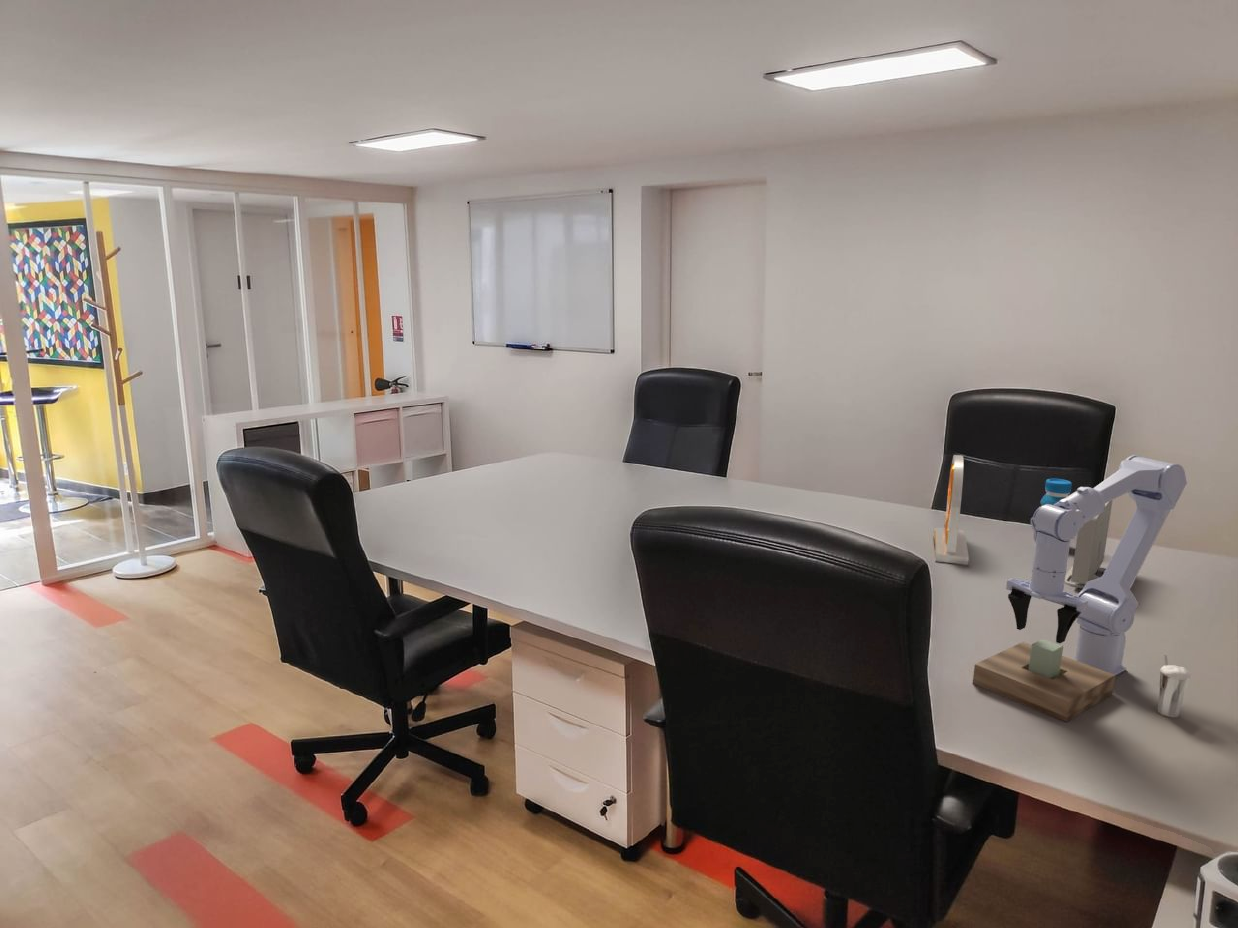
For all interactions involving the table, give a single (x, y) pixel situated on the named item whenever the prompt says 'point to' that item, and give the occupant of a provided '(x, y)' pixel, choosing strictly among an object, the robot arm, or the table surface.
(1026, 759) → the table surface
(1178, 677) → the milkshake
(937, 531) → the award
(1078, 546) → the network device
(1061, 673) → the socket block
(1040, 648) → the peg
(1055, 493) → the beverage bottle
